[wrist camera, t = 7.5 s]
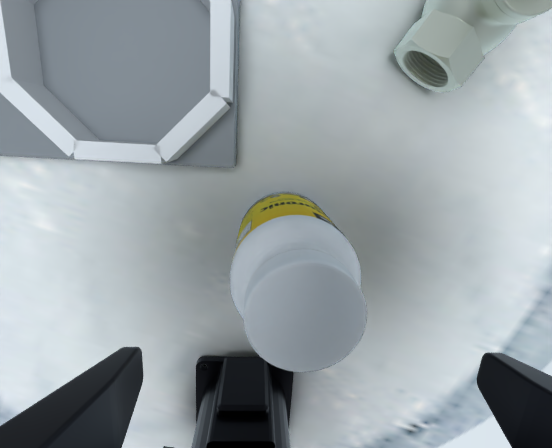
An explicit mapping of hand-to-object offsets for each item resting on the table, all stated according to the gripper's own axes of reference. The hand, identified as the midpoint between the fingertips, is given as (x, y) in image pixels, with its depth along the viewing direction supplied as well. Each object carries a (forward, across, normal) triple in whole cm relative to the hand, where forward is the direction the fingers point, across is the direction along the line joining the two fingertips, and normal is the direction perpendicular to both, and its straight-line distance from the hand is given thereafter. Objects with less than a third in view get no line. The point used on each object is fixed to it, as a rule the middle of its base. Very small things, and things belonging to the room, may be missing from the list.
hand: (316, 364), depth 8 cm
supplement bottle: (+12, 0, 0) cm, 12 cm away
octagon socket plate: (+12, +10, -10) cm, 18 cm away
